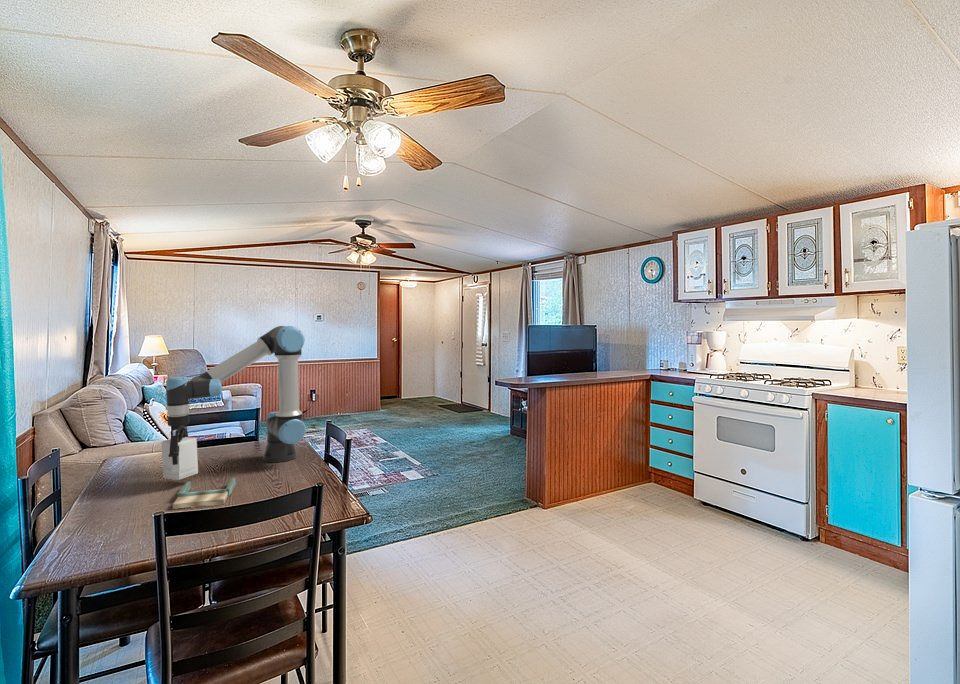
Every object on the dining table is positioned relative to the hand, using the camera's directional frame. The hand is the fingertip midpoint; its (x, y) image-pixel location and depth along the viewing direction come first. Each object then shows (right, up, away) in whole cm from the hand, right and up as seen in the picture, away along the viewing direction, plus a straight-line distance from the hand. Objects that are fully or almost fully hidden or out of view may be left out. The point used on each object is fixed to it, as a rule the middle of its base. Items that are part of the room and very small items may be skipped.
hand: (180, 467), depth 190 cm
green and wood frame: (+18, -8, -13) cm, 23 cm away
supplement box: (0, -4, 0) cm, 4 cm away
